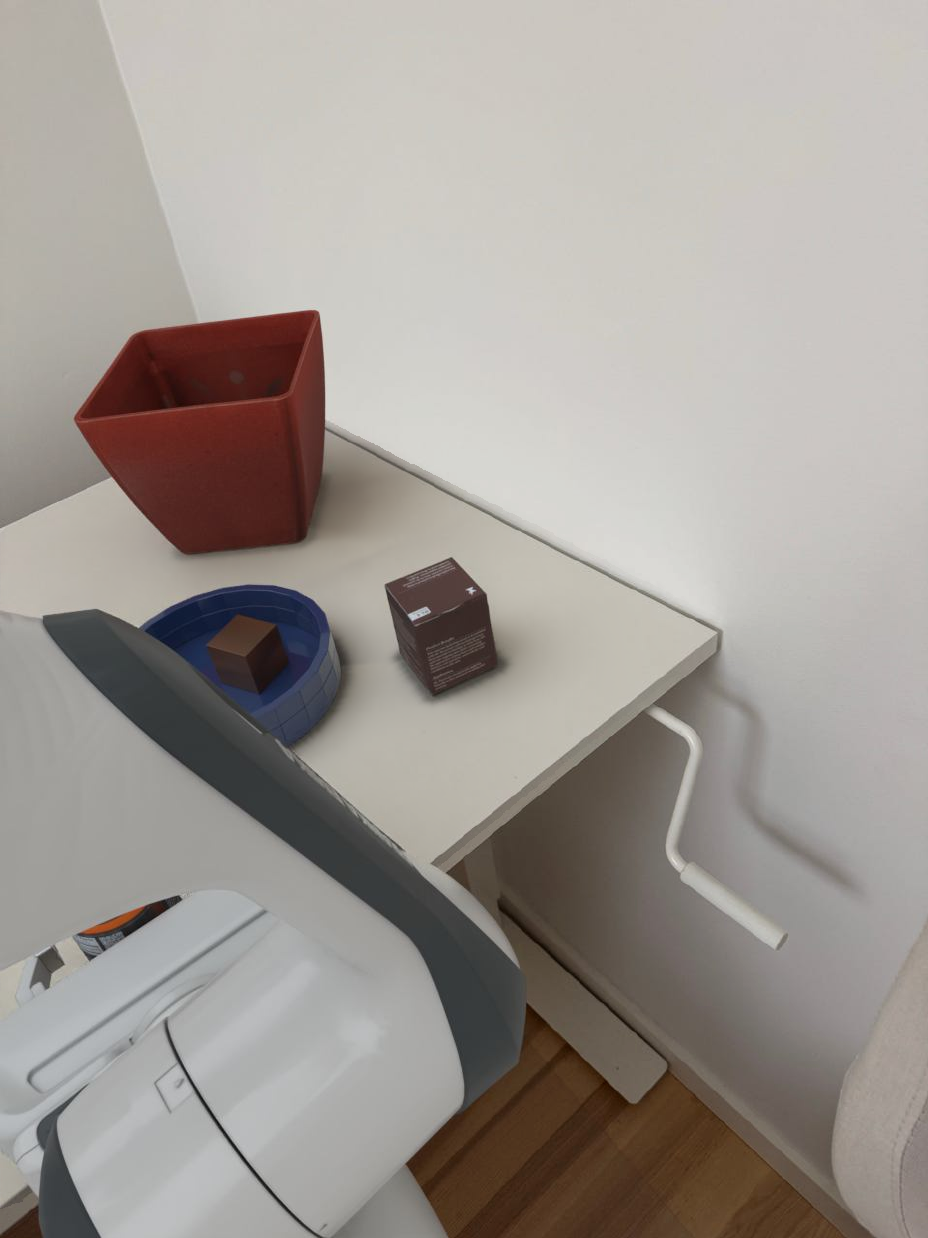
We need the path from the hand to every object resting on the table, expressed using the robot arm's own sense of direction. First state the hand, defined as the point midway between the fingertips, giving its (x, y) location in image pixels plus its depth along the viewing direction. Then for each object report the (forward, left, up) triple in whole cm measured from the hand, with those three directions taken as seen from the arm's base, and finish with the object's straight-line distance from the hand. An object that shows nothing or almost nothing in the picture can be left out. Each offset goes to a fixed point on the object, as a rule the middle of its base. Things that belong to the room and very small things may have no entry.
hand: (113, 893), depth 55 cm
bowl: (+21, +10, -6) cm, 24 cm away
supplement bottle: (0, -1, -6) cm, 6 cm away
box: (+30, -5, -6) cm, 31 cm away
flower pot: (+43, +25, -6) cm, 50 cm away
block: (+23, +9, -5) cm, 25 cm away
